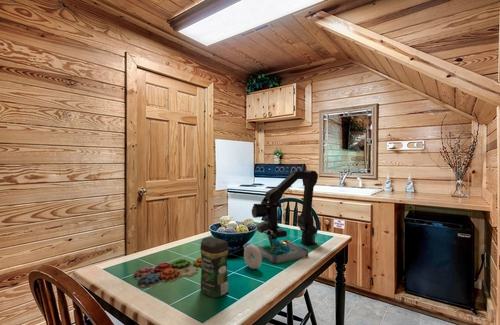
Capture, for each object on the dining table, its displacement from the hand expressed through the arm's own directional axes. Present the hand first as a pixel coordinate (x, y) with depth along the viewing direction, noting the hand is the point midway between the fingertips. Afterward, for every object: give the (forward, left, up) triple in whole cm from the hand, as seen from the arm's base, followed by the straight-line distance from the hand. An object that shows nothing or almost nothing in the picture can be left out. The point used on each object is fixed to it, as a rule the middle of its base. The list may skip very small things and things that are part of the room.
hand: (272, 246), depth 134 cm
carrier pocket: (0, +8, -1) cm, 8 cm away
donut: (+20, +16, -2) cm, 26 cm away
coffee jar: (+41, +27, -2) cm, 49 cm away
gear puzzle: (+49, +4, -2) cm, 49 cm away
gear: (0, +7, -2) cm, 7 cm away
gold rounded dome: (-9, -1, -1) cm, 9 cm away
